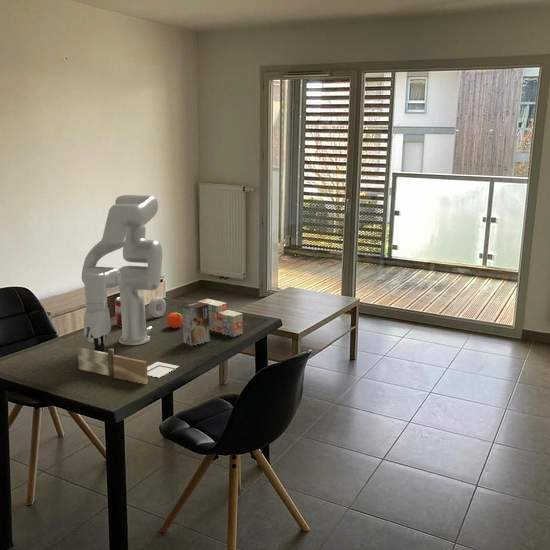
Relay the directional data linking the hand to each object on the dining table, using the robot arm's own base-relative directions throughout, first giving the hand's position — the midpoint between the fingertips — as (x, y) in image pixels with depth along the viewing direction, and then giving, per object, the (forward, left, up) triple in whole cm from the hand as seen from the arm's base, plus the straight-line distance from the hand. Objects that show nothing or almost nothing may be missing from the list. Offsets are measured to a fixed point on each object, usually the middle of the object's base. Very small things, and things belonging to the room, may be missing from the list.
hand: (99, 353), depth 231 cm
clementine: (-51, -3, -5) cm, 51 cm away
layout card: (-7, +21, -5) cm, 23 cm away
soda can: (-44, -26, -5) cm, 52 cm away
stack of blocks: (-57, +16, -6) cm, 59 cm away
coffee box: (-39, +16, -5) cm, 43 cm away
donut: (-60, -20, -5) cm, 64 cm away
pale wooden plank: (+5, +2, -5) cm, 7 cm away
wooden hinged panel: (+5, +17, -5) cm, 19 cm away
